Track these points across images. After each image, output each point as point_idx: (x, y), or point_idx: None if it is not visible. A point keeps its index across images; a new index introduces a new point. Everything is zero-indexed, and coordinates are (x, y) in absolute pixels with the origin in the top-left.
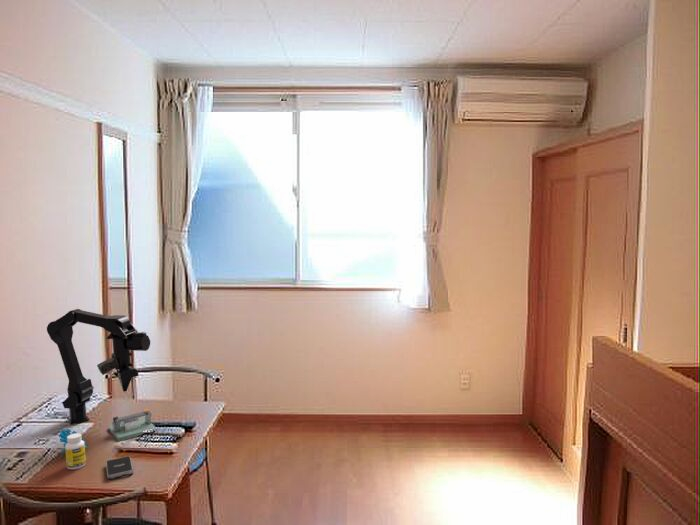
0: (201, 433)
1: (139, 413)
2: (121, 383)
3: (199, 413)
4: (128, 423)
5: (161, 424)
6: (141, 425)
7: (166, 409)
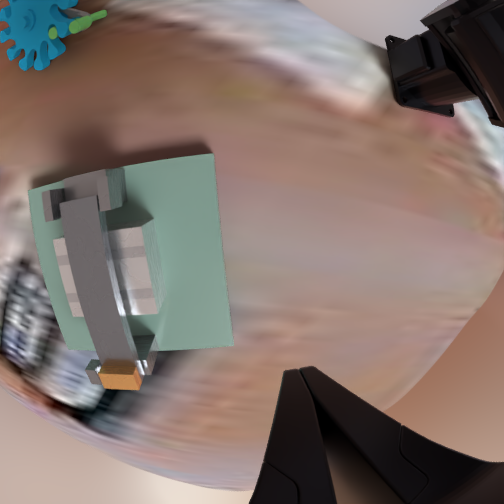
0: (36, 412)
1: (114, 341)
2: (283, 467)
3: (188, 462)
4: (58, 257)
5: None
6: None
7: None
